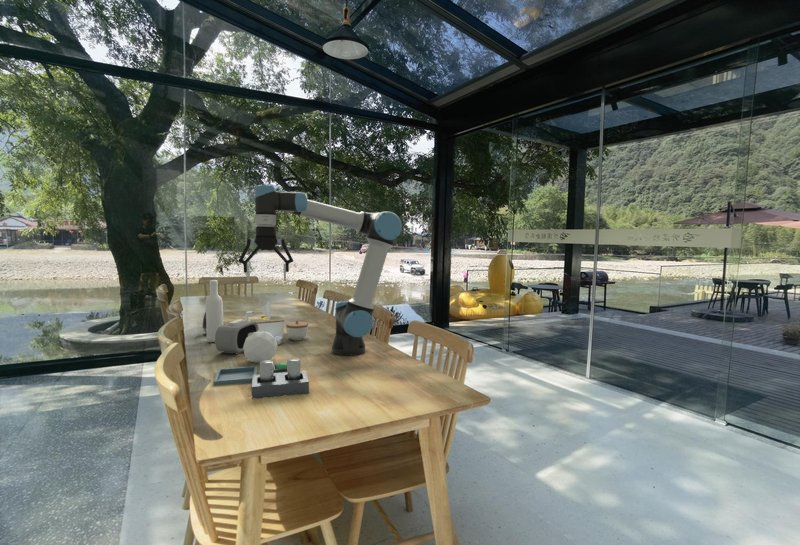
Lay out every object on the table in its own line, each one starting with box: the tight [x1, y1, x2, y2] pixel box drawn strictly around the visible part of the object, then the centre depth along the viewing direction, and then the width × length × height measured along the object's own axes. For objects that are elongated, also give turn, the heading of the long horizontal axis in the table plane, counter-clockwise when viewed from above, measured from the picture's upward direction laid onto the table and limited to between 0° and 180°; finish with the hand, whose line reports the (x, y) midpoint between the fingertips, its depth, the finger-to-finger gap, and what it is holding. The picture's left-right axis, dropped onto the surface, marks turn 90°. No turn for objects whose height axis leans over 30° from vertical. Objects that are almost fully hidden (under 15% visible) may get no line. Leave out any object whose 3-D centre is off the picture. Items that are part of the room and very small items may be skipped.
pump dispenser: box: [201, 310, 207, 334], centre depth 222 cm, size 10×10×15 cm
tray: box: [213, 365, 258, 387], centre depth 153 cm, size 14×14×2 cm
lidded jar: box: [285, 319, 309, 341], centre depth 213 cm, size 11×11×9 cm
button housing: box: [273, 363, 287, 373], centre depth 156 cm, size 7×7×4 cm
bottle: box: [205, 279, 224, 343], centre depth 206 cm, size 8×8×30 cm
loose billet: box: [259, 359, 274, 383], centre depth 142 cm, size 4×4×10 cm
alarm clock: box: [214, 318, 260, 355], centre depth 191 cm, size 21×10×13 cm, turn 170°
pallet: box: [251, 370, 310, 400], centre depth 143 cm, size 18×12×4 cm, turn 107°
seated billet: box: [286, 358, 301, 381], centre depth 144 cm, size 4×4×10 cm
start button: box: [275, 361, 287, 369], centre depth 156 cm, size 4×4×3 cm
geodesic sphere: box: [243, 329, 278, 364], centre depth 173 cm, size 14×14×14 cm
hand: (266, 280), depth 164 cm, fingers open, 13 cm apart
